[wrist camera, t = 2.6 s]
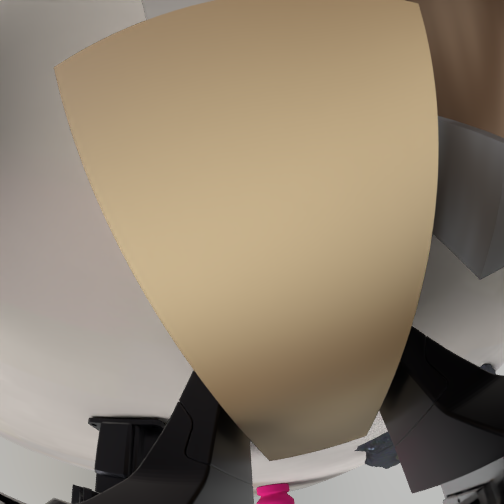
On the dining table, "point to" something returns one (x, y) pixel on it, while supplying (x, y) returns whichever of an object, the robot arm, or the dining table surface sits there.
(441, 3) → the brown boxy piece
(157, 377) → the dining table surface
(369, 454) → the dark slate chunk
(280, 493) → the pepper mill
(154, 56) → the tan oblong piece
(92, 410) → the dining table surface
